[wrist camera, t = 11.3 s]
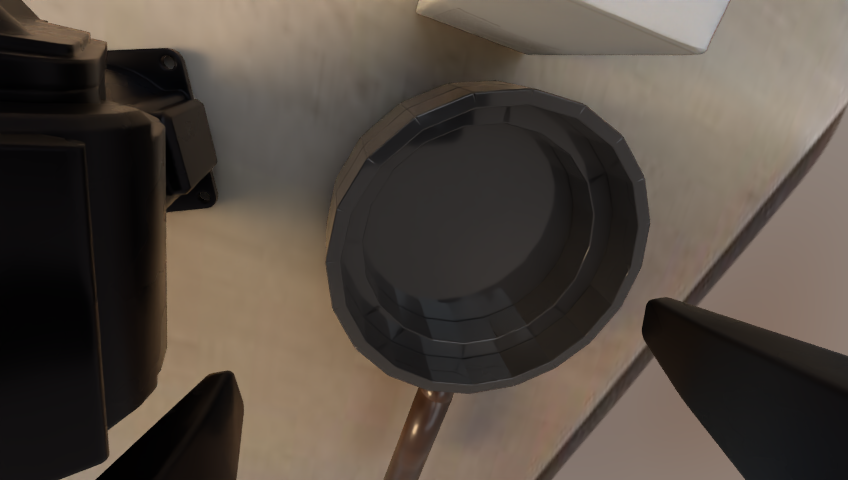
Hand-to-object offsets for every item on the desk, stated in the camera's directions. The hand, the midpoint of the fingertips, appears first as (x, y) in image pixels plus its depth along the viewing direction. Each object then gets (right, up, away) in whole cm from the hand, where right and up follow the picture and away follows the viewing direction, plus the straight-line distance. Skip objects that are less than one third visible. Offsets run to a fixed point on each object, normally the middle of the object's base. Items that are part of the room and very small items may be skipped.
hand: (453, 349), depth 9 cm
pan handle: (-1, -8, +15) cm, 17 cm away
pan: (+2, +3, +14) cm, 14 cm away
